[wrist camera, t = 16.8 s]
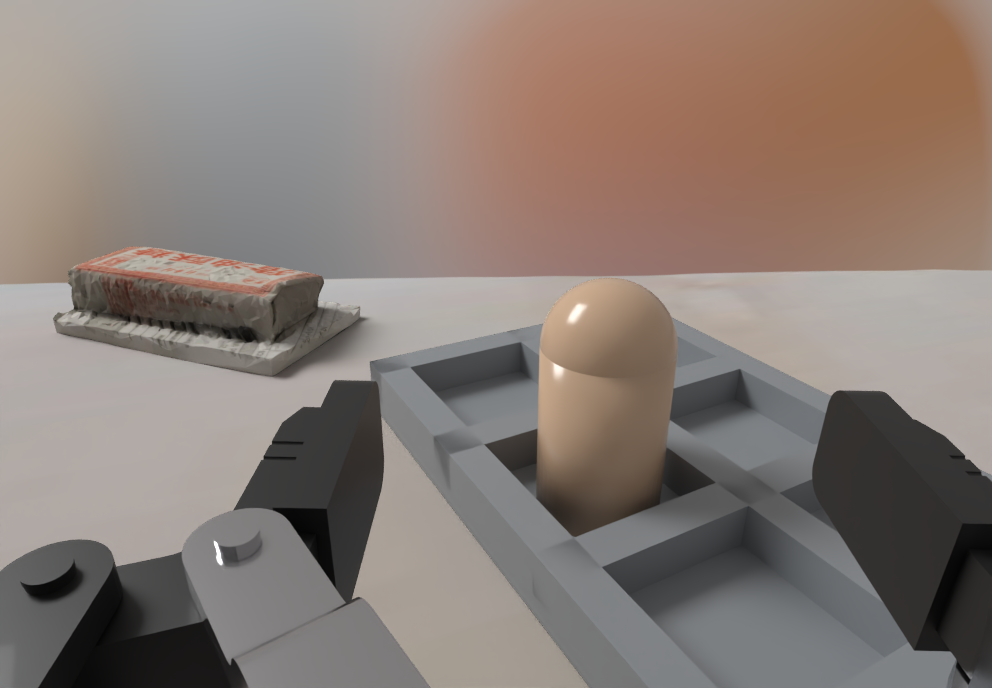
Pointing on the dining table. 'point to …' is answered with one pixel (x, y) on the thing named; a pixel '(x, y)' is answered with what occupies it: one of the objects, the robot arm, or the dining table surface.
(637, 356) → the tan domed cylinder
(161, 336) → the packaged product
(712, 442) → the grey compartment tray
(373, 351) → the dining table surface
